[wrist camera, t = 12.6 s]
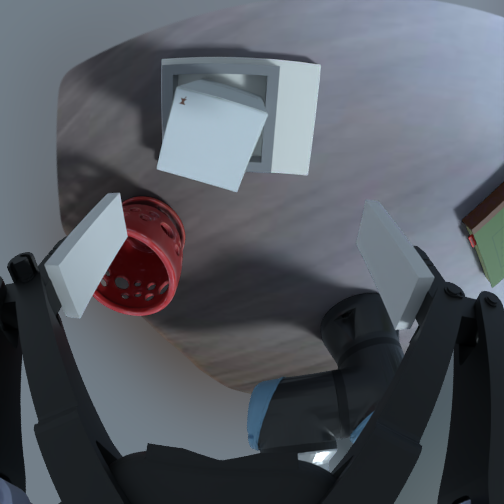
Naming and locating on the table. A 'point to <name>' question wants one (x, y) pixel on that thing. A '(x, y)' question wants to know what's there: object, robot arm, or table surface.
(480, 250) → the hardcover book
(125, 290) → the plant pot
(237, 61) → the plate
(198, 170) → the supplement box
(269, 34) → the table surface
